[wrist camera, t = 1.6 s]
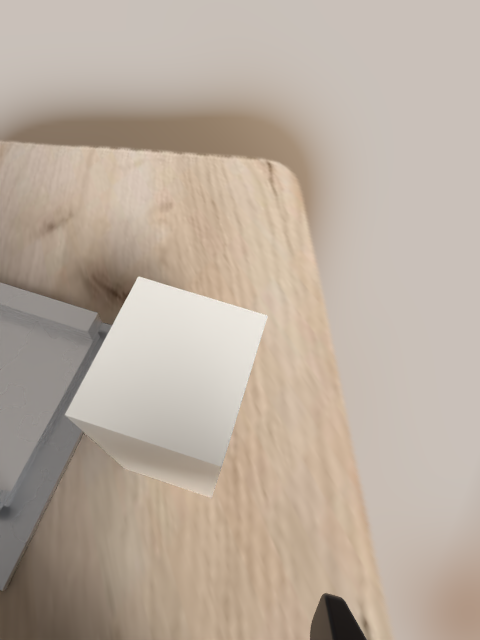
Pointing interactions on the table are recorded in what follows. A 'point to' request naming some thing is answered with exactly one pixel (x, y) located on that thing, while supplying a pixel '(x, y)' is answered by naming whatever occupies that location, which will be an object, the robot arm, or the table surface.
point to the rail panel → (37, 407)
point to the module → (169, 384)
